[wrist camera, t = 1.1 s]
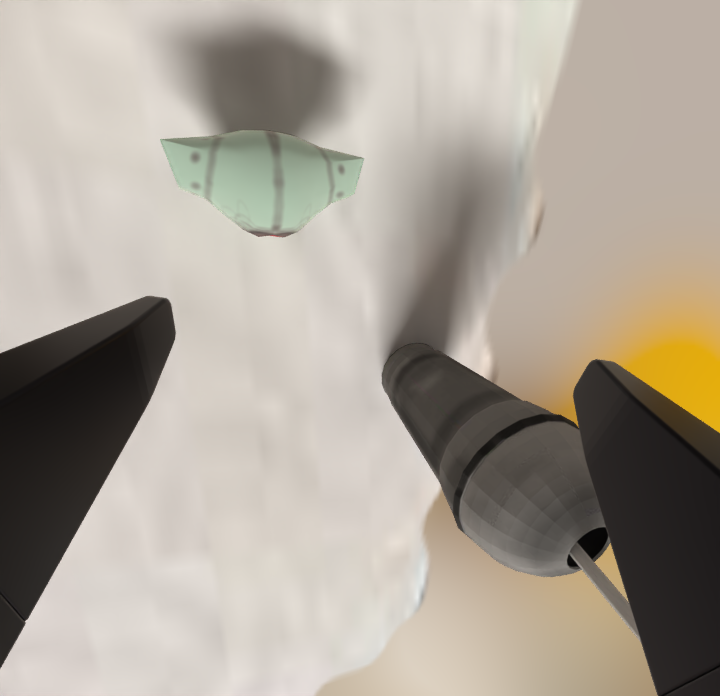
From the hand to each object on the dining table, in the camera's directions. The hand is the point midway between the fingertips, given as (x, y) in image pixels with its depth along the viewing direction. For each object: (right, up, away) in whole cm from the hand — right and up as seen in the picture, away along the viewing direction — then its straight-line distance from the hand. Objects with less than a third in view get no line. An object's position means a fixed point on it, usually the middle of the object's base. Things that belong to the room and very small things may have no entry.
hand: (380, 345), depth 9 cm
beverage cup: (+3, -2, +21) cm, 21 cm away
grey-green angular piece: (-6, +8, +13) cm, 16 cm away
